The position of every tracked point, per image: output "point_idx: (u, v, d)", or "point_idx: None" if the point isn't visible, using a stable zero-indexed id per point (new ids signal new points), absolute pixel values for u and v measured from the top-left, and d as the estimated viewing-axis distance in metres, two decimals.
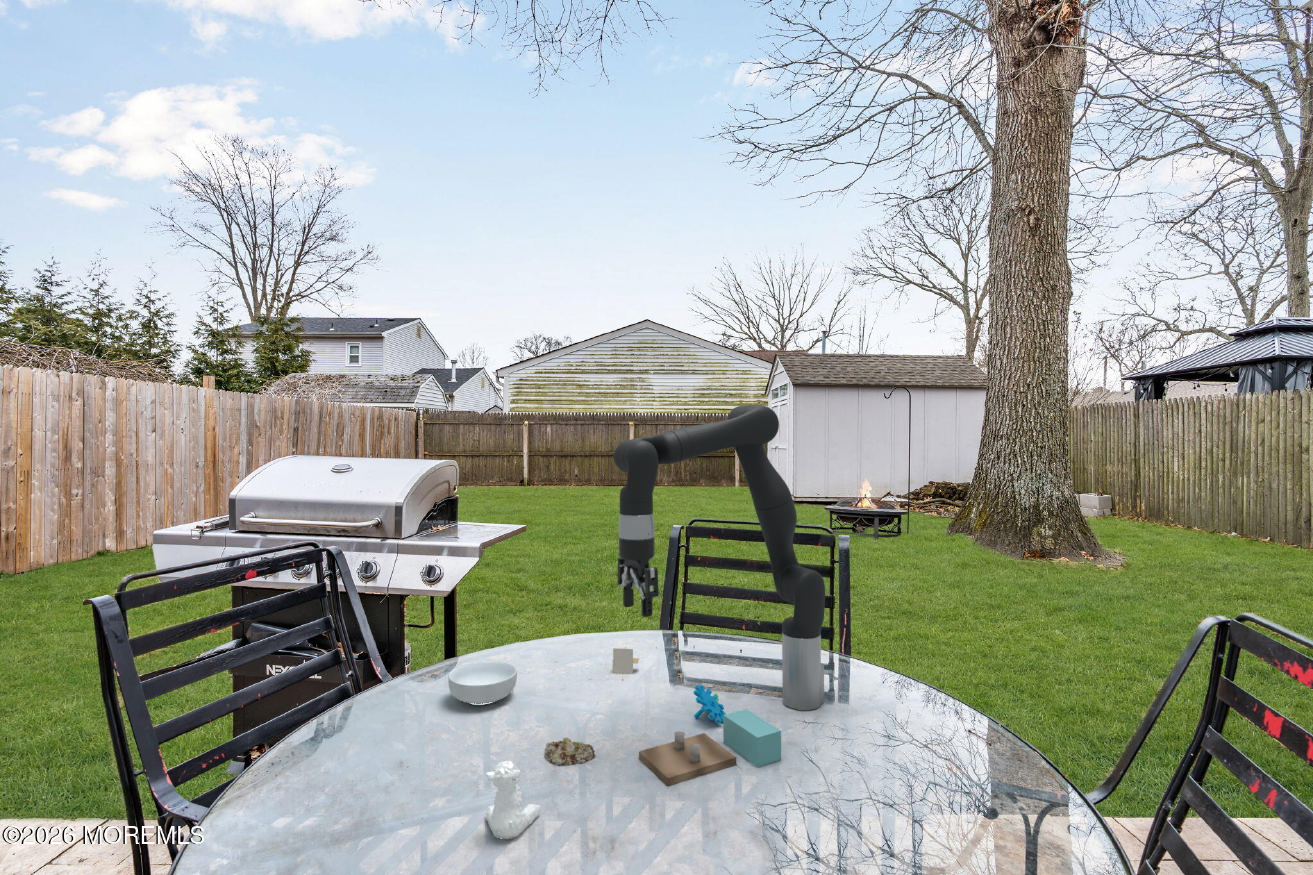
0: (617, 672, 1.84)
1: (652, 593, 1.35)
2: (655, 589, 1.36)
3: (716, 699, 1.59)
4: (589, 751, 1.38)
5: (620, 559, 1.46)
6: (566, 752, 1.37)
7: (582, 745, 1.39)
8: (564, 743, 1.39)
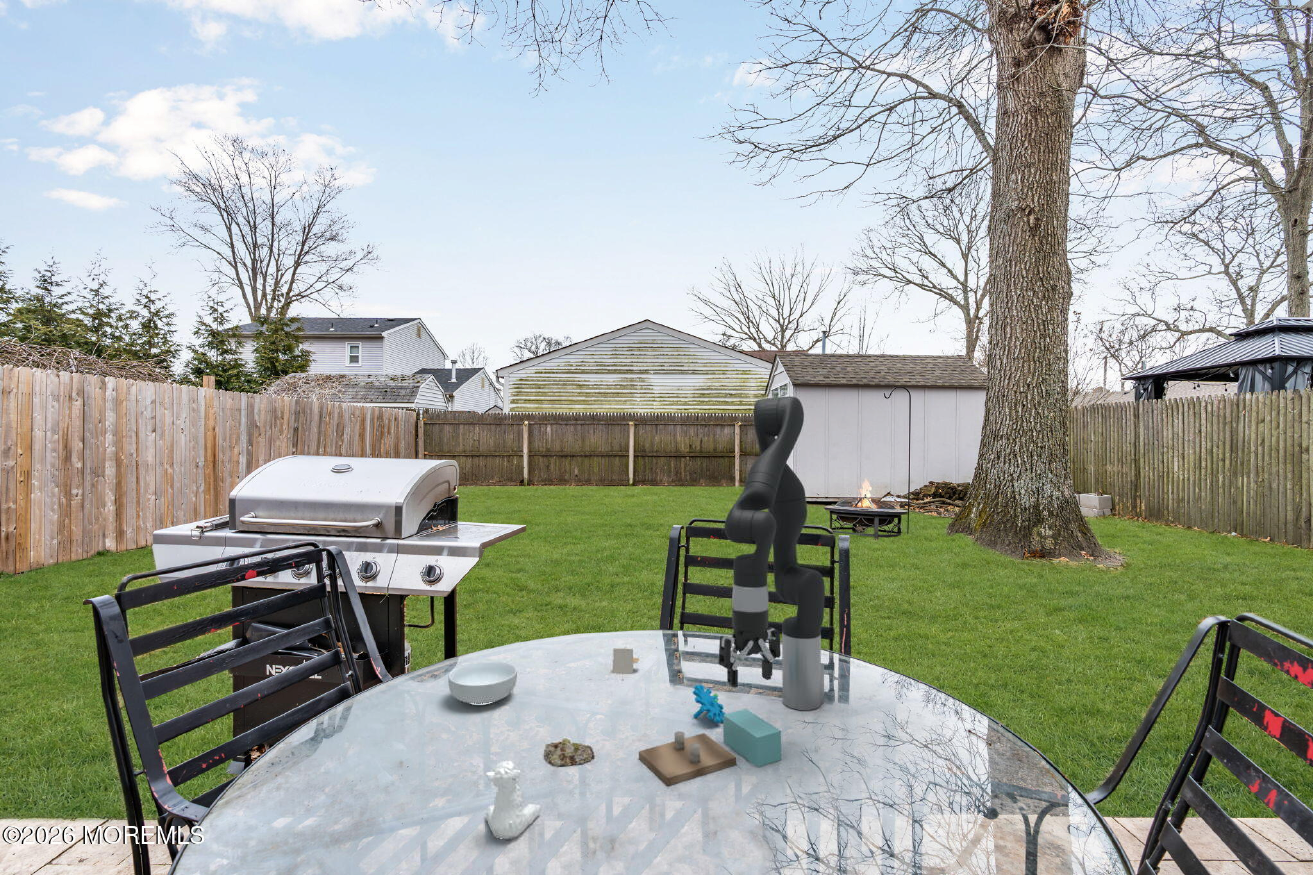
0: (617, 672, 1.84)
1: None
2: (773, 647, 1.44)
3: (716, 699, 1.59)
4: (588, 752, 1.37)
5: (730, 640, 1.36)
6: (565, 753, 1.37)
7: (581, 746, 1.39)
8: (563, 744, 1.39)
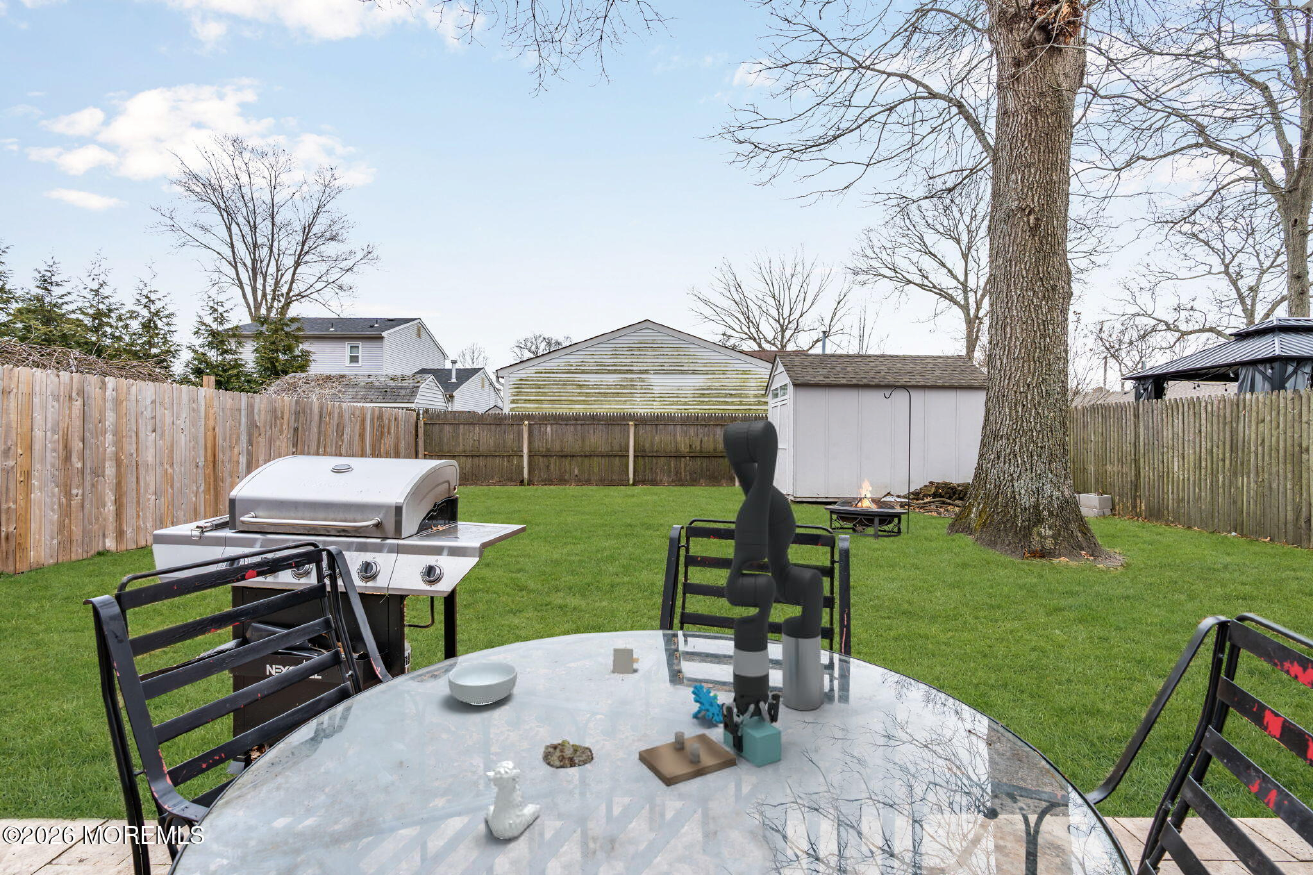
0: (617, 672, 1.84)
1: None
2: (771, 711, 1.44)
3: (715, 699, 1.59)
4: (587, 753, 1.37)
5: (731, 707, 1.37)
6: (564, 754, 1.36)
7: (581, 747, 1.38)
8: (562, 745, 1.38)
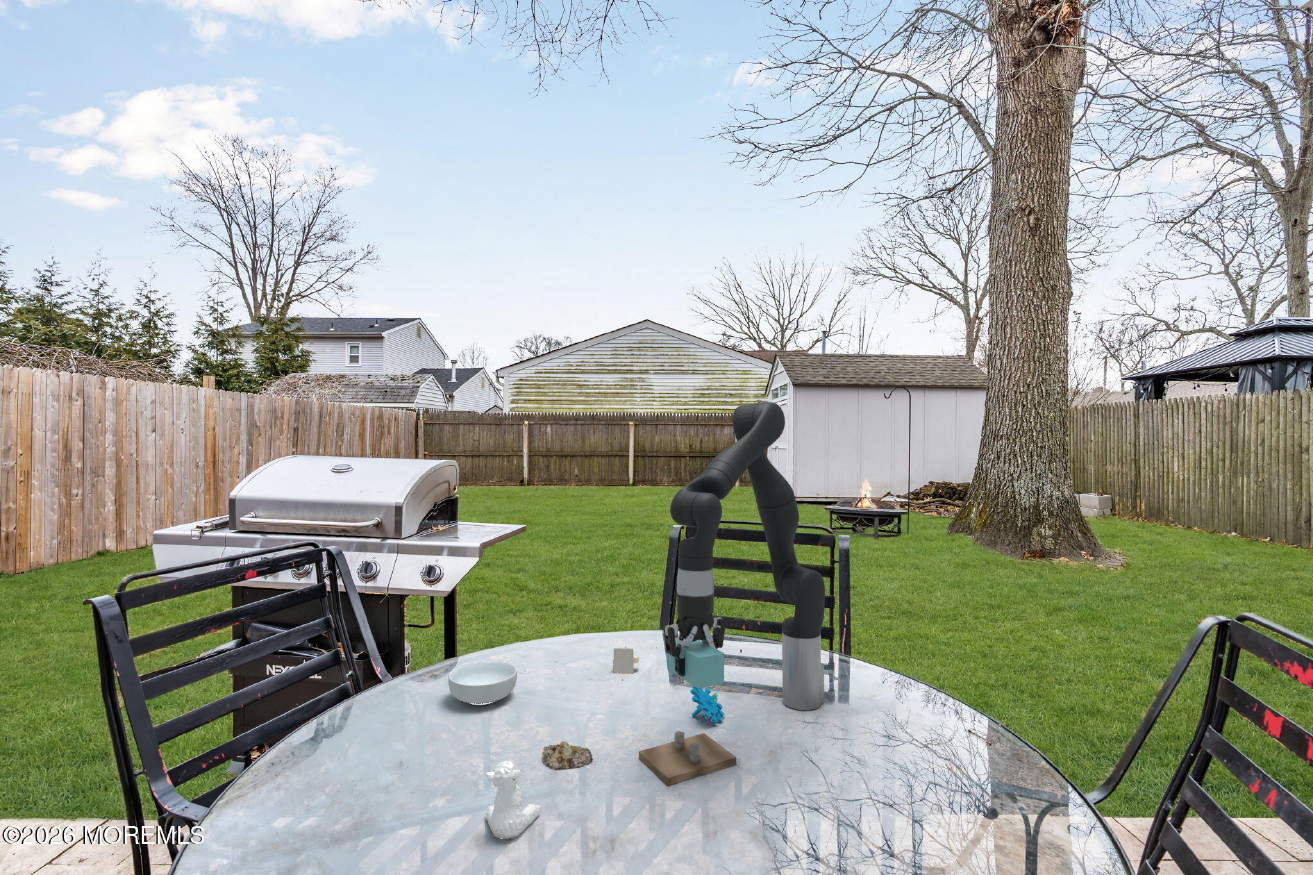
0: (617, 672, 1.85)
1: None
2: (716, 638, 1.40)
3: (715, 699, 1.59)
4: (586, 755, 1.36)
5: (672, 628, 1.32)
6: (563, 756, 1.36)
7: (580, 749, 1.38)
8: (561, 747, 1.38)
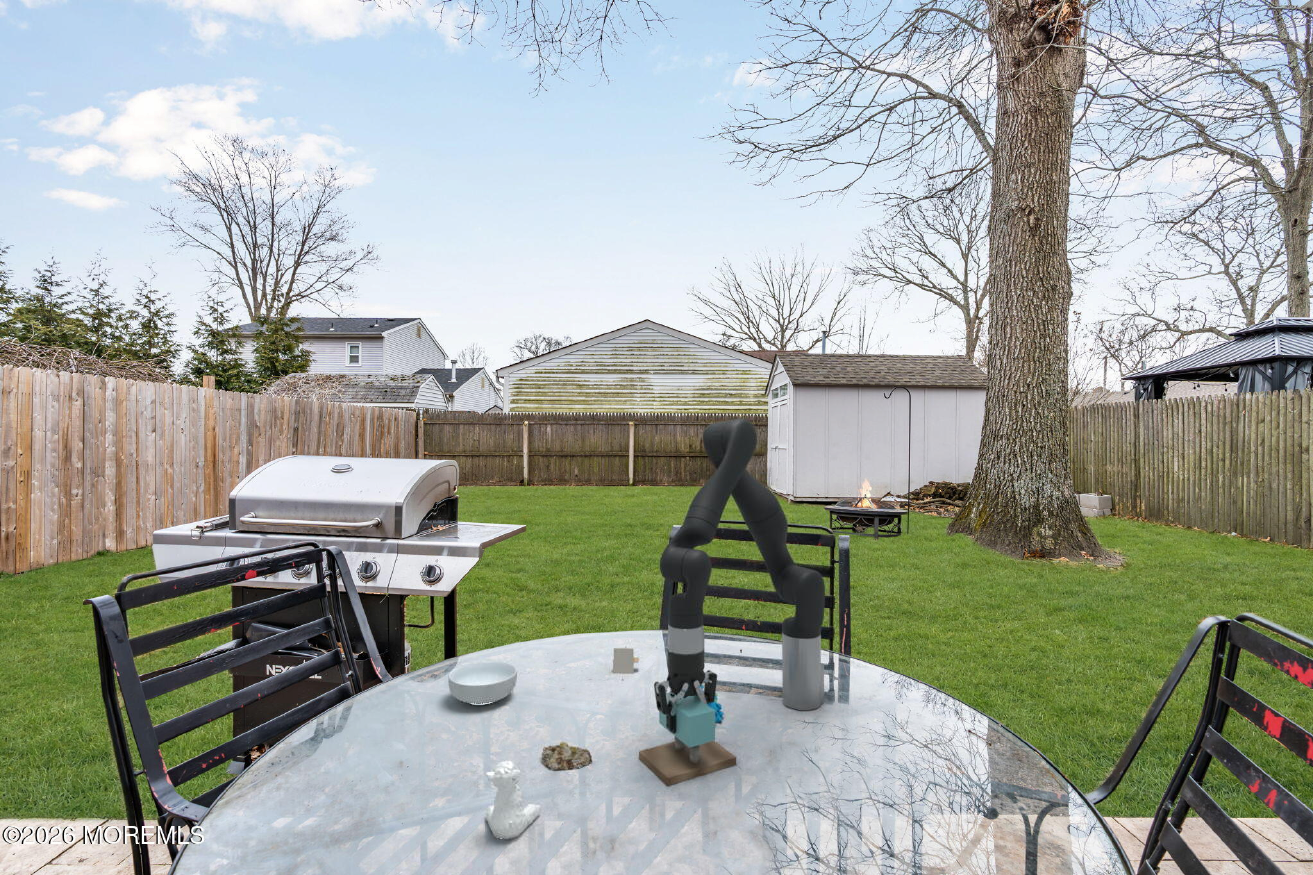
0: (618, 672, 1.85)
1: None
2: (708, 692, 1.40)
3: None
4: (585, 756, 1.36)
5: (663, 686, 1.32)
6: (562, 757, 1.35)
7: (579, 750, 1.37)
8: (561, 748, 1.37)
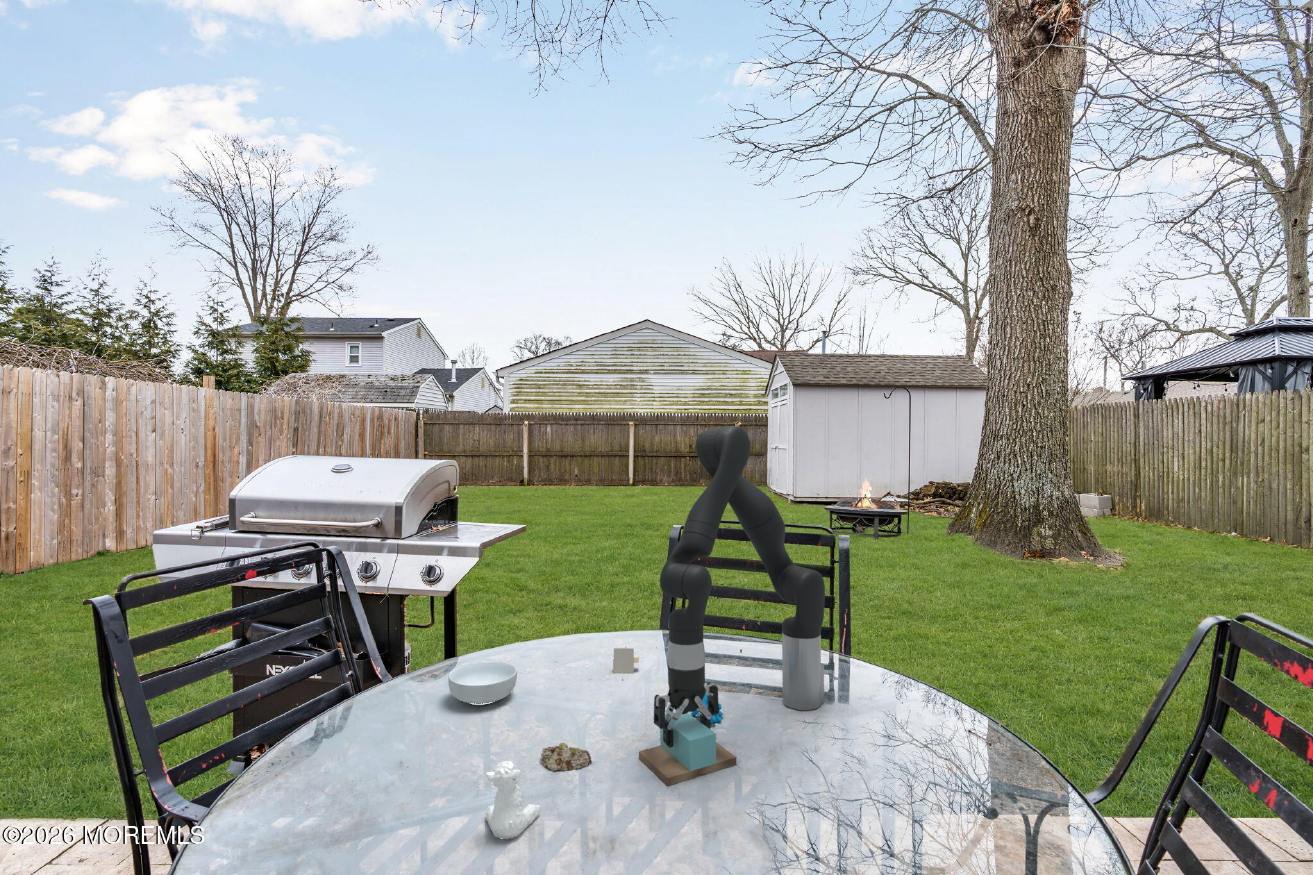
0: (618, 672, 1.85)
1: None
2: (711, 703, 1.40)
3: None
4: (585, 757, 1.35)
5: None
6: (562, 758, 1.35)
7: (578, 751, 1.37)
8: (560, 748, 1.37)
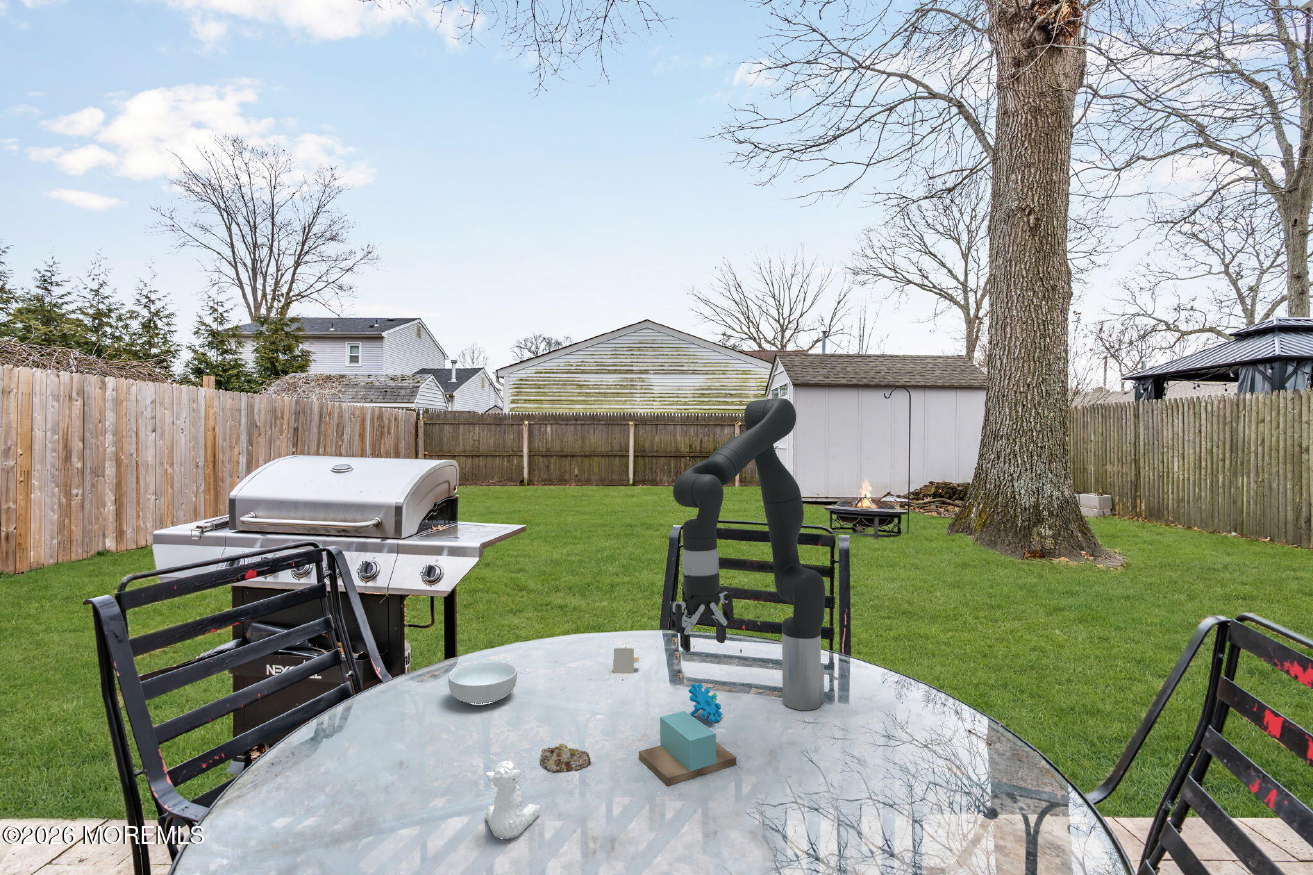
0: (618, 672, 1.85)
1: None
2: (726, 611, 1.43)
3: (713, 698, 1.59)
4: (584, 758, 1.35)
5: (680, 605, 1.36)
6: (561, 759, 1.35)
7: (578, 752, 1.36)
8: (560, 749, 1.37)
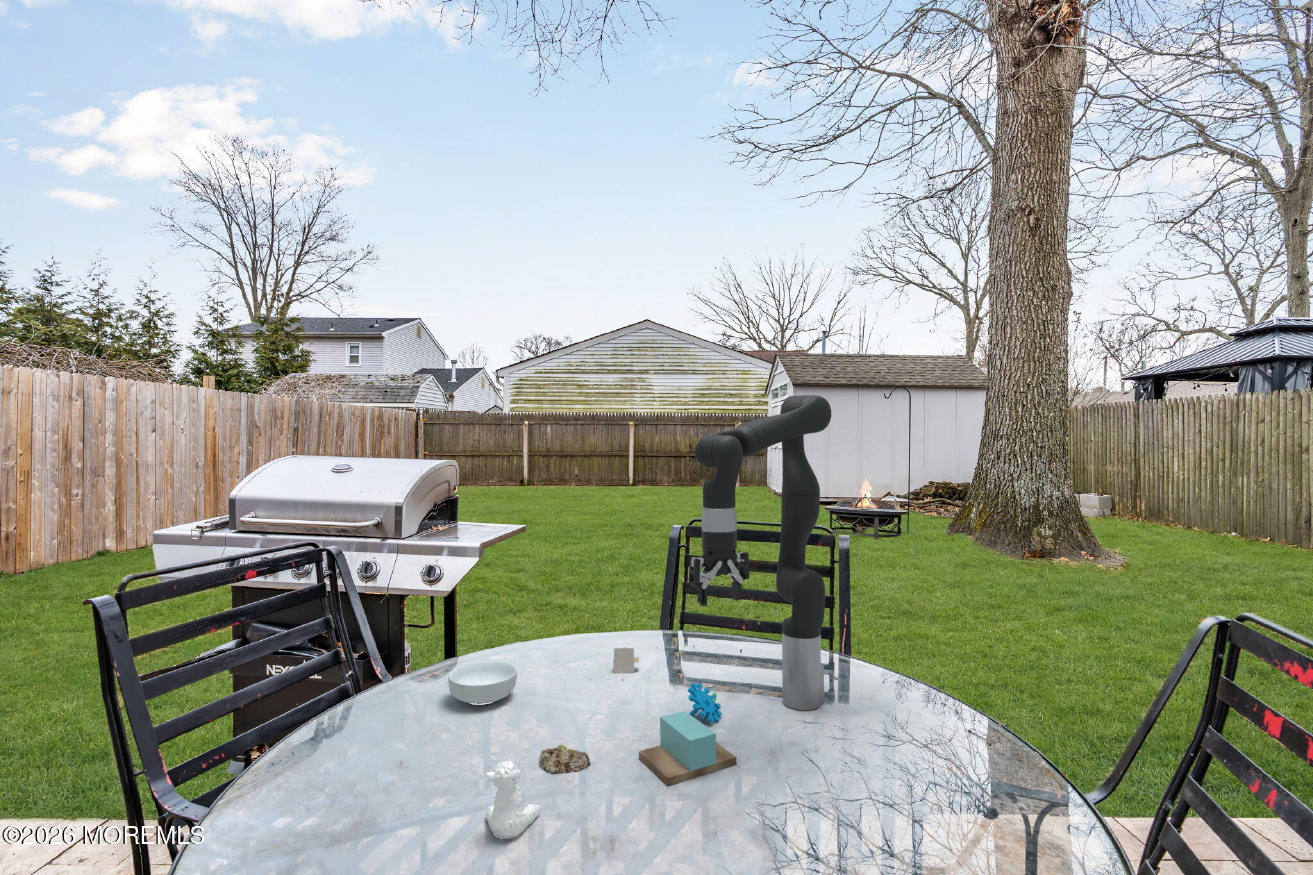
0: (618, 672, 1.85)
1: None
2: (742, 570, 1.48)
3: (713, 698, 1.59)
4: (583, 759, 1.34)
5: (699, 560, 1.41)
6: (560, 760, 1.34)
7: (577, 753, 1.36)
8: (559, 750, 1.36)
